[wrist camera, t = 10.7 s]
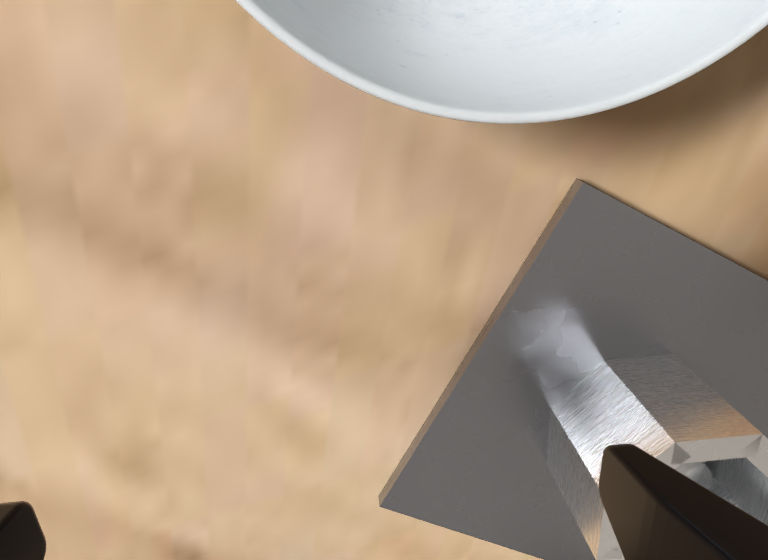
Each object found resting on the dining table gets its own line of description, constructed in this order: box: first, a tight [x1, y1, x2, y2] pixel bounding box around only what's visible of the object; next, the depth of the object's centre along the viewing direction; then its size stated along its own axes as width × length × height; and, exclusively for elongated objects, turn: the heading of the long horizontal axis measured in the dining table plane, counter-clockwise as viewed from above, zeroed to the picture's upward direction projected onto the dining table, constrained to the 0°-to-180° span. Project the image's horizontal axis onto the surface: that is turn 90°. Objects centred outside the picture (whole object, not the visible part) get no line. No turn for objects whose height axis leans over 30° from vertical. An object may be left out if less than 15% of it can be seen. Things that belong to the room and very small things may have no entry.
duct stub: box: [379, 179, 768, 560], centre depth 22 cm, size 16×16×4 cm
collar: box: [546, 354, 768, 560], centre depth 21 cm, size 7×8×5 cm
